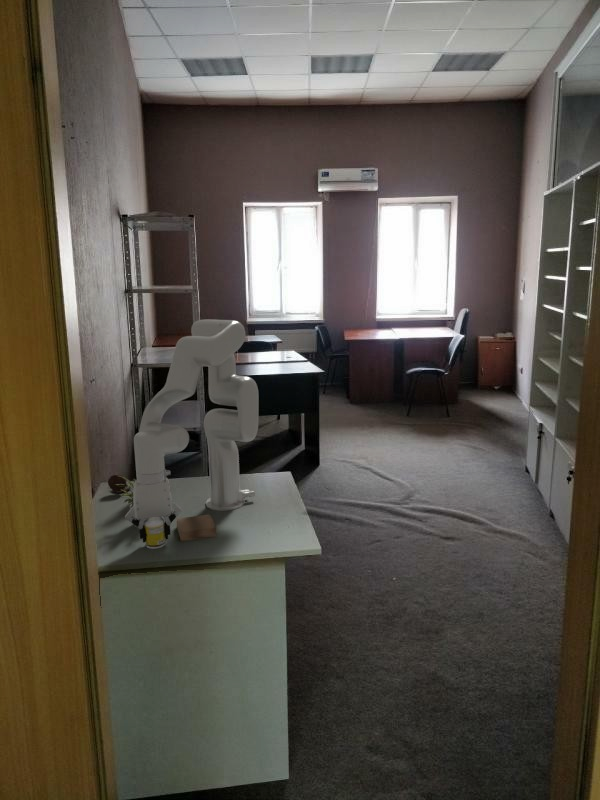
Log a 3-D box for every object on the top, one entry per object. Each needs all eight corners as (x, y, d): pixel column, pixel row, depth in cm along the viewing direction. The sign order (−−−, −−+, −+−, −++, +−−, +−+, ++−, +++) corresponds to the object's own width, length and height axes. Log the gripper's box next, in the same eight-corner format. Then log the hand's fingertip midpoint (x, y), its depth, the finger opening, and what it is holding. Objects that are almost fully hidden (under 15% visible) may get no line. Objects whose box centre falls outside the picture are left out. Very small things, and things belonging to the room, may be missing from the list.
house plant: (116, 517, 187) (111, 467, 184) (161, 511, 192) (158, 462, 188) (118, 535, 174) (114, 481, 171) (167, 528, 178) (163, 476, 175)
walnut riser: (210, 523, 182) (210, 514, 181) (216, 537, 172) (216, 527, 172) (177, 528, 179) (176, 518, 178) (180, 542, 170) (180, 532, 169)
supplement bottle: (147, 541, 170) (145, 508, 168) (167, 540, 171) (164, 507, 169) (144, 550, 165) (141, 516, 163) (164, 548, 165) (162, 515, 163)
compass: (132, 487, 214) (131, 467, 213) (126, 495, 207) (124, 474, 205) (110, 487, 215) (109, 467, 213) (102, 495, 207) (101, 474, 205)
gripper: (181, 468, 169) (185, 529, 173) (117, 475, 165) (122, 537, 168) (184, 477, 162) (188, 540, 166) (118, 484, 158) (123, 549, 161)
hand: (155, 538), depth 167 cm, fingers closed on supplement bottle, 5 cm apart
